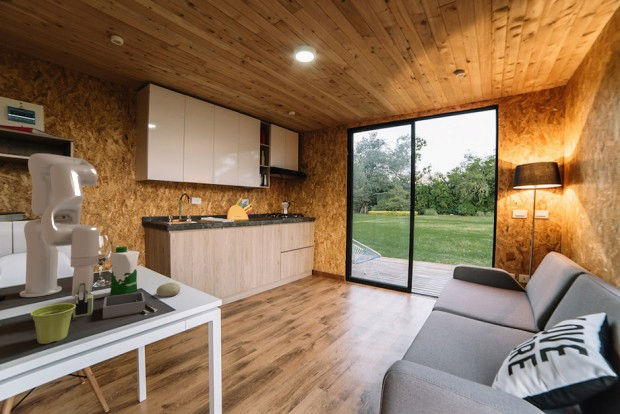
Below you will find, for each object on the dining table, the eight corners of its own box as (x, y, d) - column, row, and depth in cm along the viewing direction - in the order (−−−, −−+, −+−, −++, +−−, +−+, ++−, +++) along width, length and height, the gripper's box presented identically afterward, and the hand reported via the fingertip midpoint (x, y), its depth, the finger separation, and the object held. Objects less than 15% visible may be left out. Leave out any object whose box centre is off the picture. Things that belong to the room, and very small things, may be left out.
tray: (104, 307, 100) (104, 296, 100) (142, 301, 107) (143, 291, 107) (102, 319, 90) (103, 307, 90) (144, 312, 97) (145, 301, 97)
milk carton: (124, 289, 122) (125, 245, 122) (141, 291, 120) (142, 246, 120) (106, 295, 114) (107, 248, 113) (123, 297, 112) (125, 249, 112)
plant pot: (49, 331, 81) (50, 303, 81) (82, 331, 82) (83, 303, 82) (18, 347, 72) (19, 315, 72) (56, 347, 73) (57, 315, 73)
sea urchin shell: (151, 290, 116) (165, 275, 120) (164, 300, 120) (177, 285, 124) (158, 295, 110) (173, 279, 114) (172, 305, 114) (186, 289, 118)
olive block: (74, 312, 95) (75, 296, 95) (92, 310, 98) (93, 293, 98) (72, 317, 91) (73, 300, 91) (91, 314, 94) (92, 297, 94)
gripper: (74, 257, 99) (72, 303, 99) (66, 267, 85) (64, 320, 85) (99, 256, 104) (98, 300, 104) (96, 264, 90) (94, 315, 90)
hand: (83, 309), depth 94 cm, fingers open, 9 cm apart
